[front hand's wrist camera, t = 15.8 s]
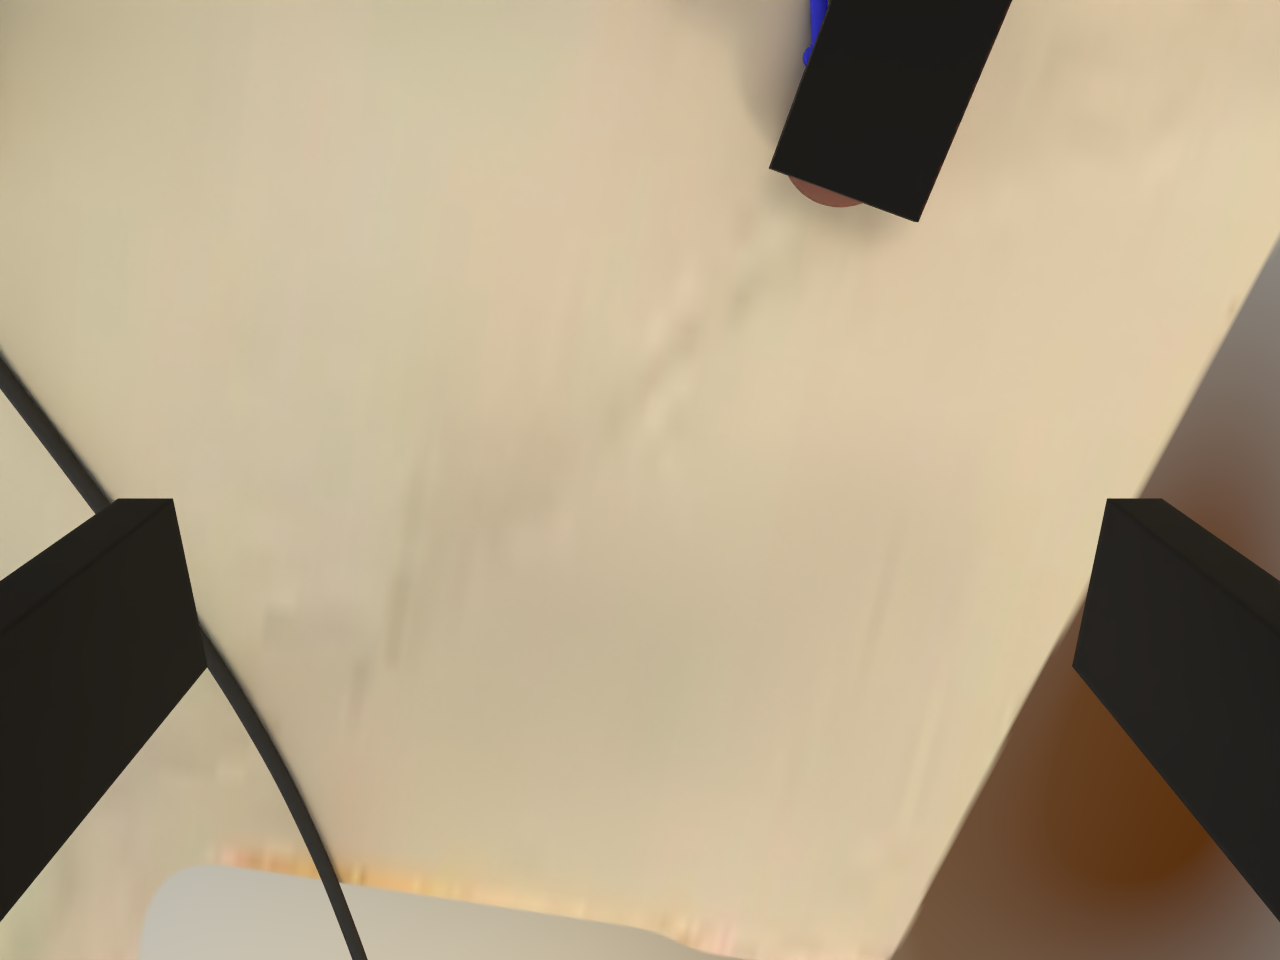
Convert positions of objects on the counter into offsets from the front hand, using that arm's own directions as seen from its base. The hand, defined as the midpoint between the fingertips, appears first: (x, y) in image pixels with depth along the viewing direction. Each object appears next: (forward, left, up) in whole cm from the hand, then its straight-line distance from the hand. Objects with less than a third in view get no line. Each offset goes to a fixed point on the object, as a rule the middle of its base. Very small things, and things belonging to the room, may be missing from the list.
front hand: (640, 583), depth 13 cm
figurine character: (+6, -13, -30) cm, 34 cm away
